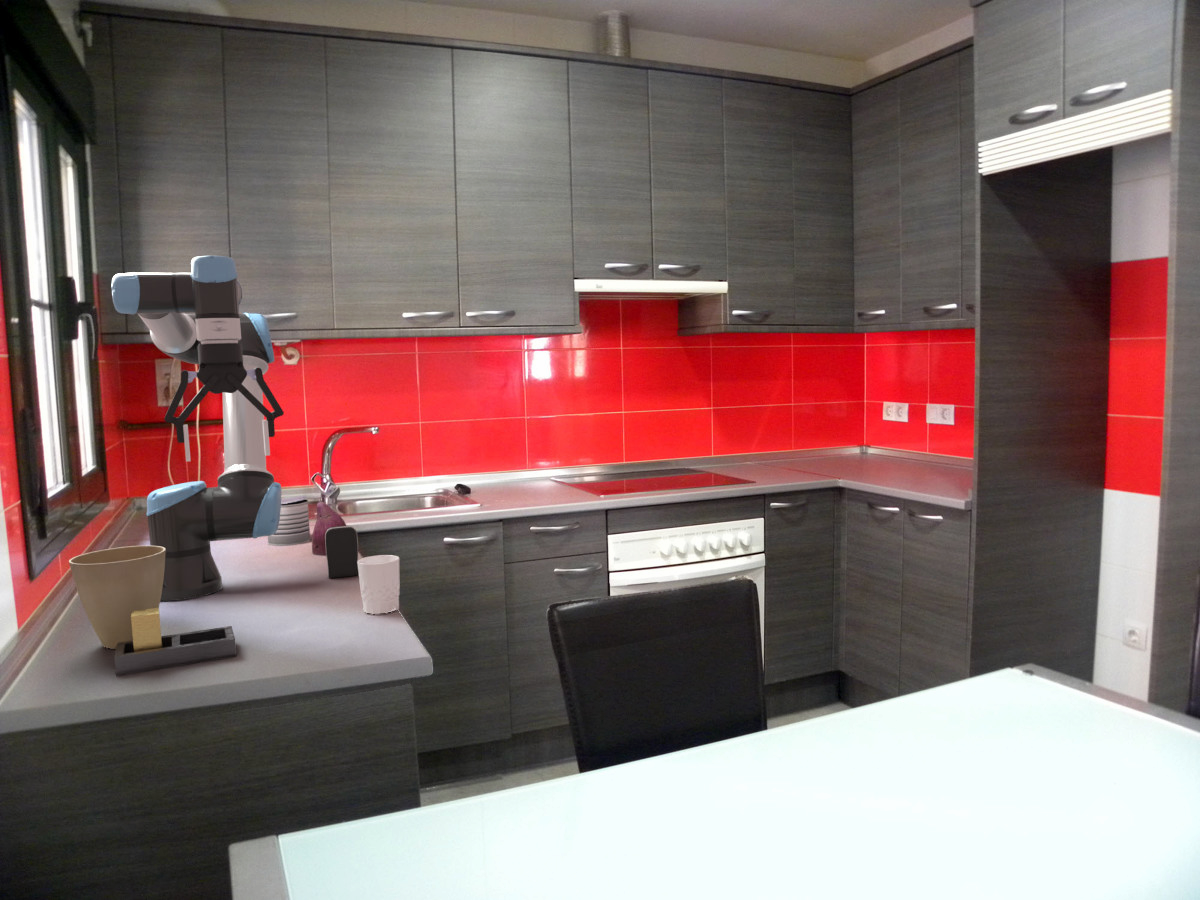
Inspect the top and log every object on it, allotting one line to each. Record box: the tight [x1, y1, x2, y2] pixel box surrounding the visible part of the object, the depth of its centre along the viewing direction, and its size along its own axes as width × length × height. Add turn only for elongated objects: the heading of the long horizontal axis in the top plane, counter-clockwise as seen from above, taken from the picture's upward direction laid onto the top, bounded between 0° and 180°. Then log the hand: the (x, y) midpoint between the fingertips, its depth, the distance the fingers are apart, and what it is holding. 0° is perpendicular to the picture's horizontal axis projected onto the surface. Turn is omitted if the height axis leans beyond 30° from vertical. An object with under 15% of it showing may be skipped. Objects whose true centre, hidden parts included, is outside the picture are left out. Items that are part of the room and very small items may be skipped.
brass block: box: [131, 607, 162, 652], centre depth 146 cm, size 4×4×8 cm
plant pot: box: [68, 545, 166, 650], centre depth 157 cm, size 15×15×16 cm
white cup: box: [357, 554, 401, 615], centre depth 173 cm, size 8×8×10 cm
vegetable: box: [311, 499, 348, 556], centre depth 229 cm, size 10×10×15 cm
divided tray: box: [114, 625, 237, 677], centre depth 148 cm, size 8×18×3 cm, turn 116°
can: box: [267, 495, 311, 547], centre depth 244 cm, size 11×11×12 cm
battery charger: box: [325, 525, 359, 579], centre depth 202 cm, size 7×4×11 cm, turn 109°
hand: (228, 457), depth 166 cm, fingers open, 13 cm apart
